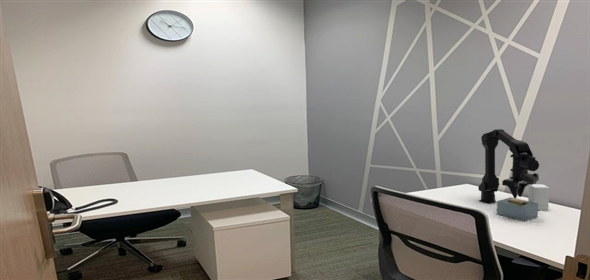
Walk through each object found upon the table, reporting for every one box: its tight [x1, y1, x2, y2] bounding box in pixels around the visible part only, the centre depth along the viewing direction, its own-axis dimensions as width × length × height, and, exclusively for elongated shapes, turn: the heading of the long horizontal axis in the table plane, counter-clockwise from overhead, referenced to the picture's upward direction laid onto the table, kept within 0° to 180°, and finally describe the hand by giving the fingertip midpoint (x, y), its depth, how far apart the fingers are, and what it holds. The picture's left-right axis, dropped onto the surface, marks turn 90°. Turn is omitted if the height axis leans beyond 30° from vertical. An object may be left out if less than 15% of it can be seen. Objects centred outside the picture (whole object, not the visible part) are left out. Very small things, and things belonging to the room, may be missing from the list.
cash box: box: [496, 196, 539, 222], centre depth 194 cm, size 14×12×7 cm
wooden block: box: [510, 197, 526, 205], centre depth 193 cm, size 6×3×2 cm, turn 31°
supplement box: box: [527, 183, 550, 212], centre depth 204 cm, size 7×7×13 cm
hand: (517, 197), depth 193 cm, fingers open, 4 cm apart
